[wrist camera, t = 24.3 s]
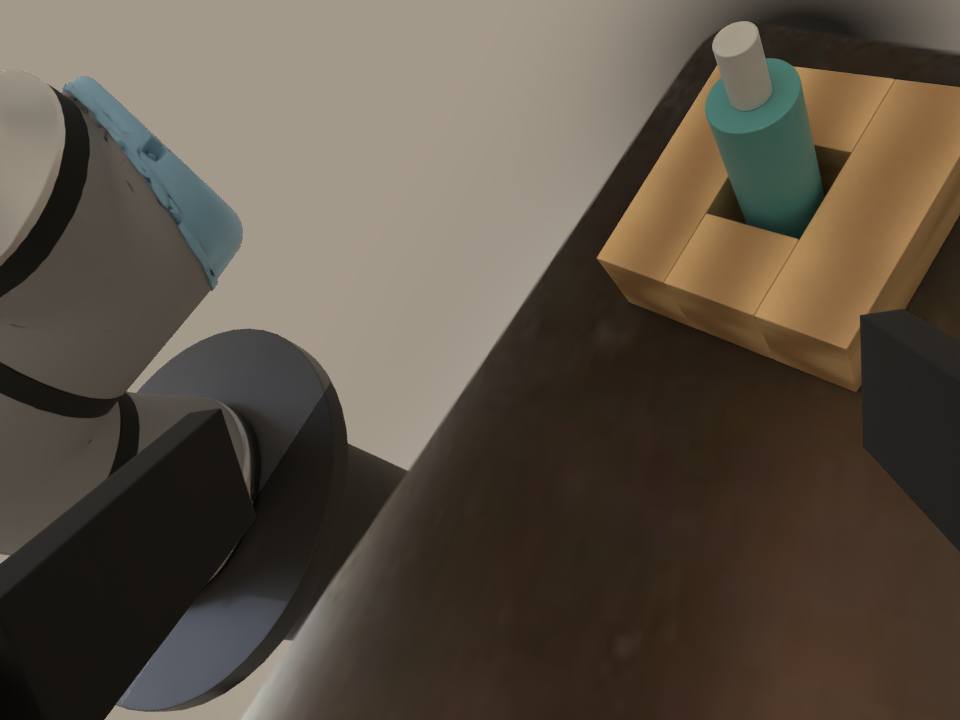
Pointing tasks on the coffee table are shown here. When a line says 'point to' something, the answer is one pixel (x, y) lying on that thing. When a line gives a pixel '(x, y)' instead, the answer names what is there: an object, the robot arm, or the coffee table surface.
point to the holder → (826, 241)
